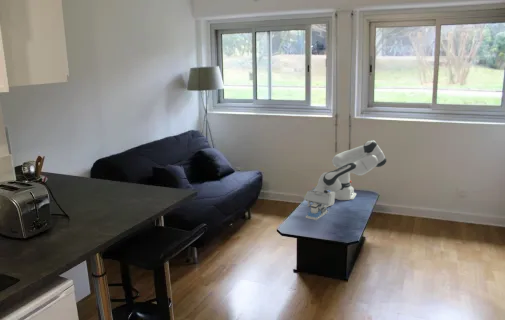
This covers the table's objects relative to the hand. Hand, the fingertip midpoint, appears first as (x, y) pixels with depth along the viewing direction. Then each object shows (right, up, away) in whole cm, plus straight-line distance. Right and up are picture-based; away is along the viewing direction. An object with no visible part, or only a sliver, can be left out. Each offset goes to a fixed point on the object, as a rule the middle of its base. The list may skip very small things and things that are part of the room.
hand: (314, 208), depth 338 cm
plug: (+1, -6, +2) cm, 6 cm away
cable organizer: (+11, -1, +25) cm, 27 cm away
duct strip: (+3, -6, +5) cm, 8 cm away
